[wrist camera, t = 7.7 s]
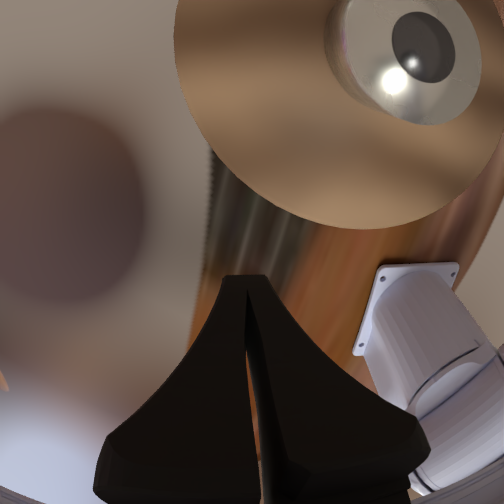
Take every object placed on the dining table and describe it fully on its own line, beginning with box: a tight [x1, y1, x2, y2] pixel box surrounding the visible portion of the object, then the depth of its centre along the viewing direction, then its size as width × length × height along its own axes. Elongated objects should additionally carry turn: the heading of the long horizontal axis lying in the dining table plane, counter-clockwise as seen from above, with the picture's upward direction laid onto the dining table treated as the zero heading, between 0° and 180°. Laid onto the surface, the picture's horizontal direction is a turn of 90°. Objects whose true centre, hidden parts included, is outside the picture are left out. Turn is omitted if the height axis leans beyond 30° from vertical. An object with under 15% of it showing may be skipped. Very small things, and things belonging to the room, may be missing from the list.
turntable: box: [174, 0, 504, 229], centre depth 13 cm, size 20×20×1 cm
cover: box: [323, 0, 482, 126], centre depth 11 cm, size 7×7×3 cm
